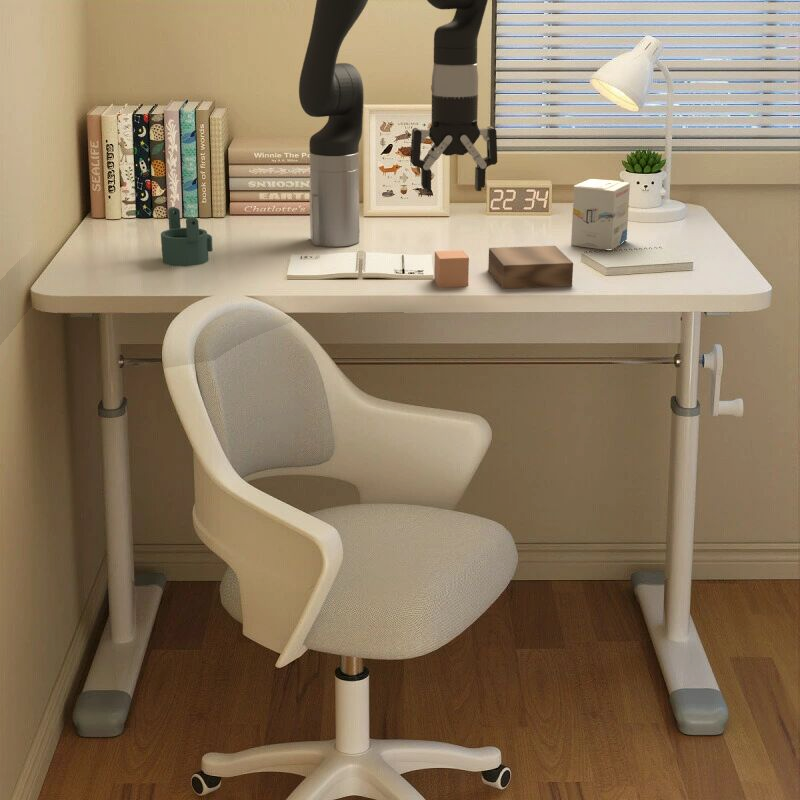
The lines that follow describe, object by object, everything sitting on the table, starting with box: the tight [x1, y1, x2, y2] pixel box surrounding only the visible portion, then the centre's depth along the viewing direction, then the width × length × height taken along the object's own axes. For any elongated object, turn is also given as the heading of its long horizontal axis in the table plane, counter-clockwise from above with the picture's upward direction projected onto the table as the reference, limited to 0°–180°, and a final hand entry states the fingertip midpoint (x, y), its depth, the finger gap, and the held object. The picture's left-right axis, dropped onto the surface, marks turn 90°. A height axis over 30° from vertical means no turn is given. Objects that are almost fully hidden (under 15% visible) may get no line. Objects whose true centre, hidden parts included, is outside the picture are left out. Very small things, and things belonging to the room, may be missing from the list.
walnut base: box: [487, 245, 574, 289], centre depth 217 cm, size 12×12×4 cm
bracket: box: [160, 206, 213, 267], centre depth 227 cm, size 9×9×9 cm
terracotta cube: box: [433, 249, 470, 288], centre depth 214 cm, size 5×5×5 cm
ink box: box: [570, 178, 631, 250], centre depth 238 cm, size 9×8×12 cm
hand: (453, 190), depth 209 cm, fingers open, 8 cm apart
